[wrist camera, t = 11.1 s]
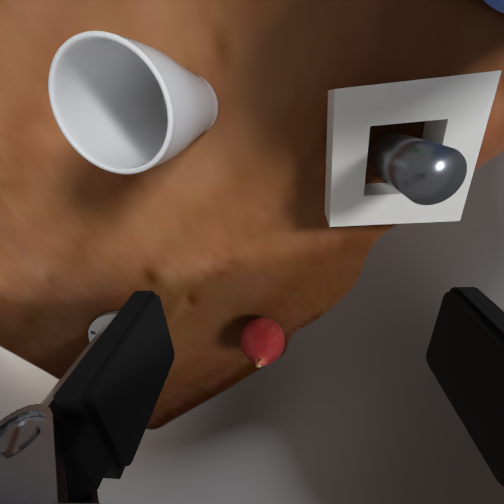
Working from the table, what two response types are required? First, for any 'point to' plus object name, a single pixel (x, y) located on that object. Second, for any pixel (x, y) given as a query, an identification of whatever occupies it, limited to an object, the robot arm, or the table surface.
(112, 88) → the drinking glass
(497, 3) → the water jug
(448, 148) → the metal peg
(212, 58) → the table surface
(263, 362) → the onion
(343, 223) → the socket block
